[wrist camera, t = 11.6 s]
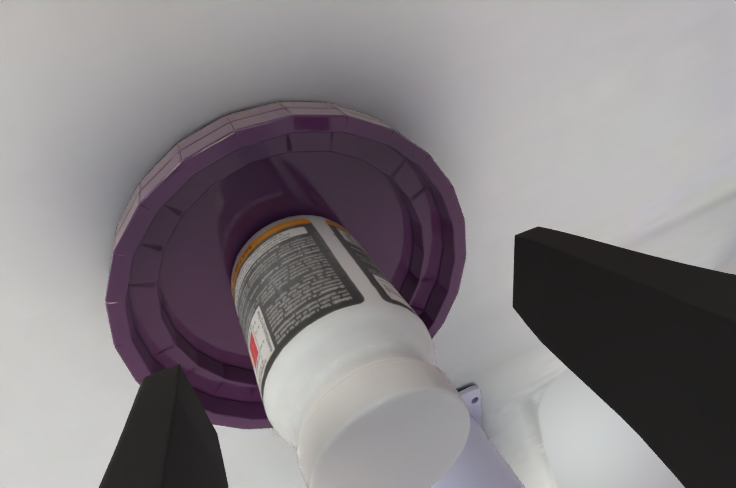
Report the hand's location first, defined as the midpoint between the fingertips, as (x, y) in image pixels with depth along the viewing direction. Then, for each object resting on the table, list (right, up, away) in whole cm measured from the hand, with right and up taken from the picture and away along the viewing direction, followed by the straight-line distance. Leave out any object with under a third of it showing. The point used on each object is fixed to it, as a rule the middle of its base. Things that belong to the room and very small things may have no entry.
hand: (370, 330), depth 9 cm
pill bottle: (-3, +1, +11) cm, 11 cm away
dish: (-3, +1, +11) cm, 11 cm away
